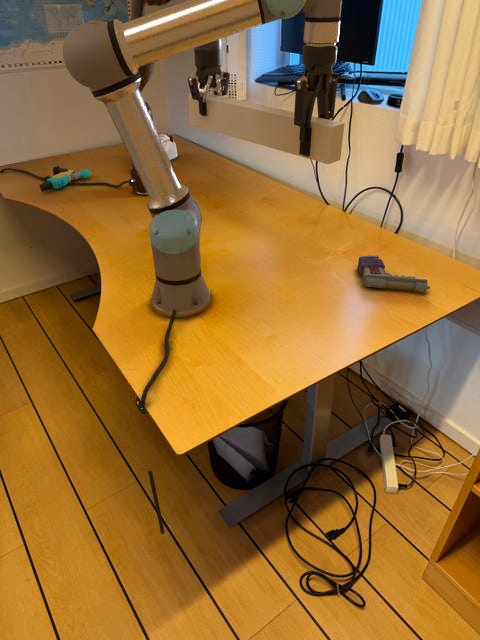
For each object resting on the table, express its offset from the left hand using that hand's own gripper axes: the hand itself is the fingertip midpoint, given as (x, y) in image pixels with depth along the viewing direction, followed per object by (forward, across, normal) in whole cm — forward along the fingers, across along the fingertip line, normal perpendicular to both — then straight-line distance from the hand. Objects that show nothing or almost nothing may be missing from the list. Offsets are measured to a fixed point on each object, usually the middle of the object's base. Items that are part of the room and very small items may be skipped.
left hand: (210, 113), depth 138 cm
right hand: (+3, 0, +38) cm, 38 cm away
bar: (+4, 0, +19) cm, 19 cm away
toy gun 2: (+37, -14, +59) cm, 71 cm away
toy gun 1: (+38, +16, -81) cm, 91 cm away
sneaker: (+38, -28, -72) cm, 86 cm away
